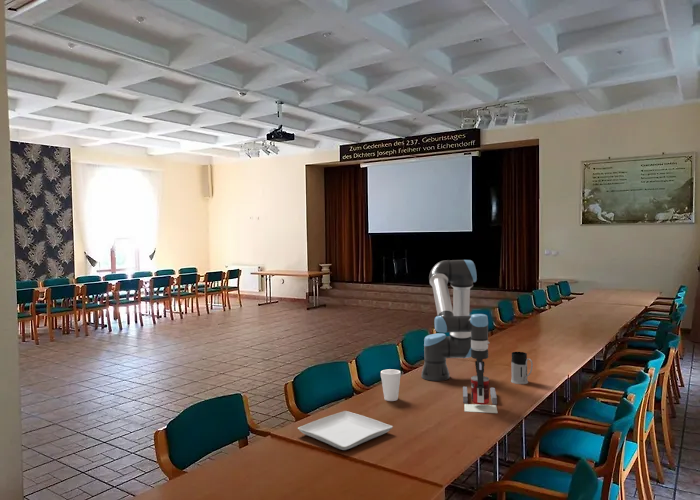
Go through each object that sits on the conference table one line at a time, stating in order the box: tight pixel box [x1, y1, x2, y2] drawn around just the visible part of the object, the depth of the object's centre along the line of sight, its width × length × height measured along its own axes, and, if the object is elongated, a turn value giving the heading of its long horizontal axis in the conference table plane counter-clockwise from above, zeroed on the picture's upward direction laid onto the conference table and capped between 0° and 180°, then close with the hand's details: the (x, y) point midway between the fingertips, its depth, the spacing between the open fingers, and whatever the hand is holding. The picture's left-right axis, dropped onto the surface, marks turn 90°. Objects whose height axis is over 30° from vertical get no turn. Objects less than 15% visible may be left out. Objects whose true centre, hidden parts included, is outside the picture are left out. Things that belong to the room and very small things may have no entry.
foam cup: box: [380, 368, 402, 402], centre depth 249 cm, size 10×9×13 cm
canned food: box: [470, 375, 490, 405], centre depth 235 cm, size 8×8×11 cm
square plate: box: [297, 410, 394, 451], centre depth 205 cm, size 27×27×4 cm
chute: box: [462, 386, 499, 414], centre depth 241 cm, size 15×28×3 cm, turn 168°
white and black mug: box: [510, 351, 534, 385], centre depth 271 cm, size 9×14×15 cm, turn 21°
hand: (480, 399), depth 235 cm, fingers closed on canned food, 8 cm apart
